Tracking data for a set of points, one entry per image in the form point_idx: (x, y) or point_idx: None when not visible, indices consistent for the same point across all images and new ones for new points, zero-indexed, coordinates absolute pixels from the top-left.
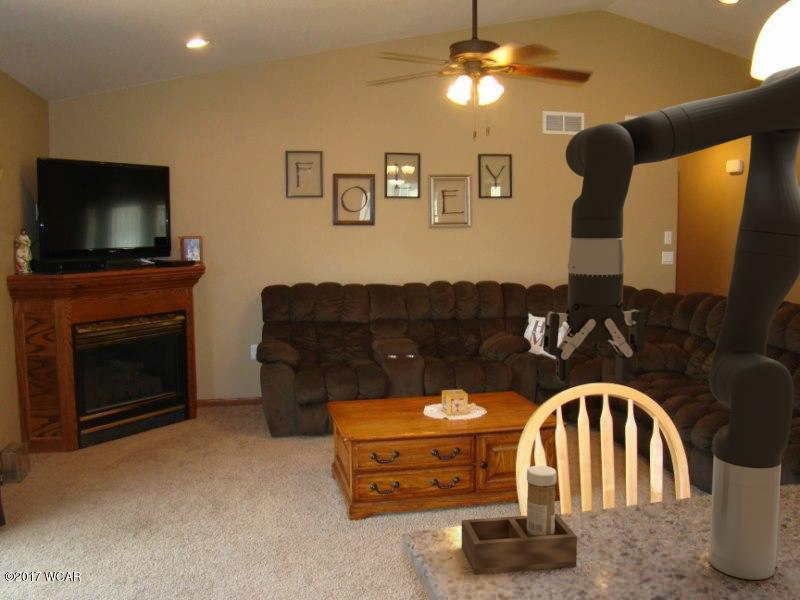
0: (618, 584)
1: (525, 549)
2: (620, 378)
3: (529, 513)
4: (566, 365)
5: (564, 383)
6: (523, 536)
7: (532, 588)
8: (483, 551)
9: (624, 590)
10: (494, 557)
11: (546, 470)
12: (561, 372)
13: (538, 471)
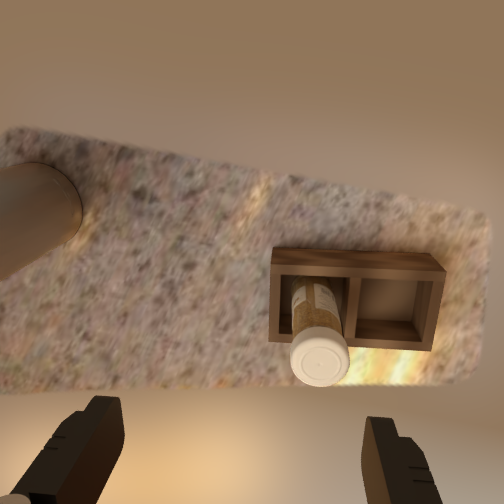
0: (235, 189)
1: (355, 262)
2: (112, 416)
3: (338, 314)
4: (410, 499)
5: (391, 422)
6: (356, 280)
7: (362, 201)
8: (426, 265)
9: (234, 172)
10: (405, 261)
11: (312, 359)
12: (419, 474)
13: (330, 358)
